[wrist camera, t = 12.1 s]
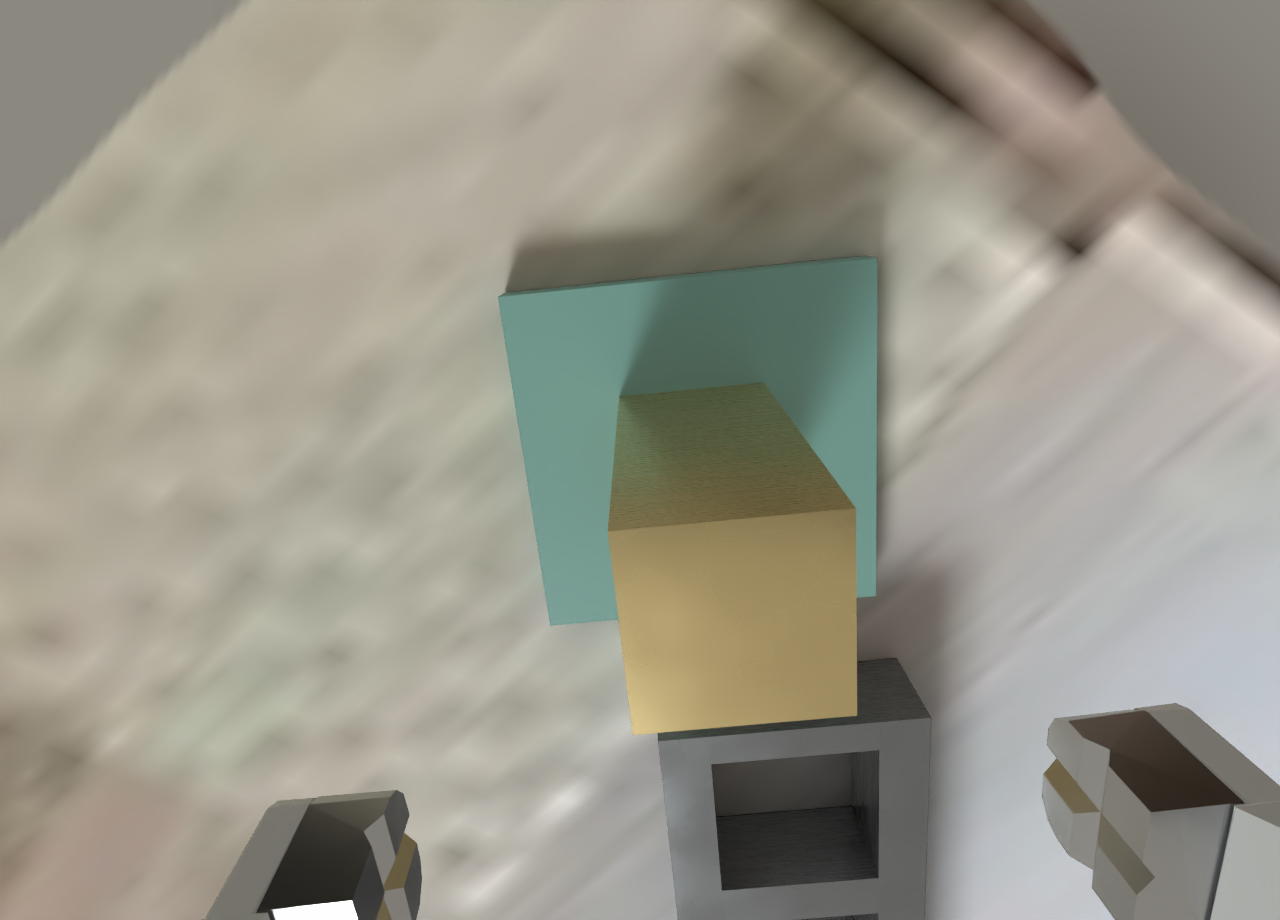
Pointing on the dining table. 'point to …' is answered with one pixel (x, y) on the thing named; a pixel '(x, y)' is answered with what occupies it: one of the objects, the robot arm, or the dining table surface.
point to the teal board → (681, 360)
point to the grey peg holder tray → (807, 815)
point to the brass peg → (729, 564)
